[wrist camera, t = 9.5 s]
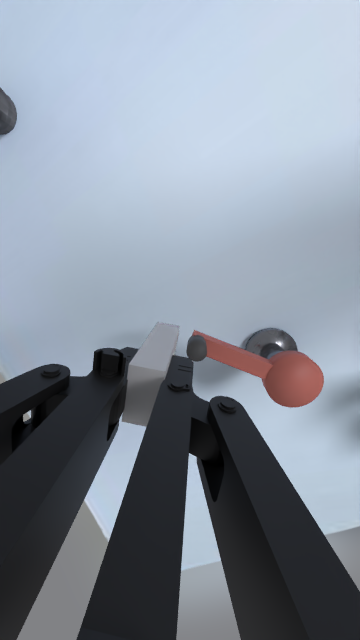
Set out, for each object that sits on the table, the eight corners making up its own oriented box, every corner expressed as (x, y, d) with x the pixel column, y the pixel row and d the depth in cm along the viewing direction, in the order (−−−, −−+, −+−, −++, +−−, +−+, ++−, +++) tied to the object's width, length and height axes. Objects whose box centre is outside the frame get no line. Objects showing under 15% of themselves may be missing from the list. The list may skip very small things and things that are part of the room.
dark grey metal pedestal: (251, 324, 33) (265, 340, 27) (301, 333, 33) (327, 351, 26) (240, 368, 35) (250, 394, 28) (287, 377, 35) (308, 405, 28)
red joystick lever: (179, 358, 28) (176, 373, 24) (198, 312, 26) (199, 320, 22) (299, 405, 28) (315, 428, 24) (325, 362, 26) (346, 379, 23)
